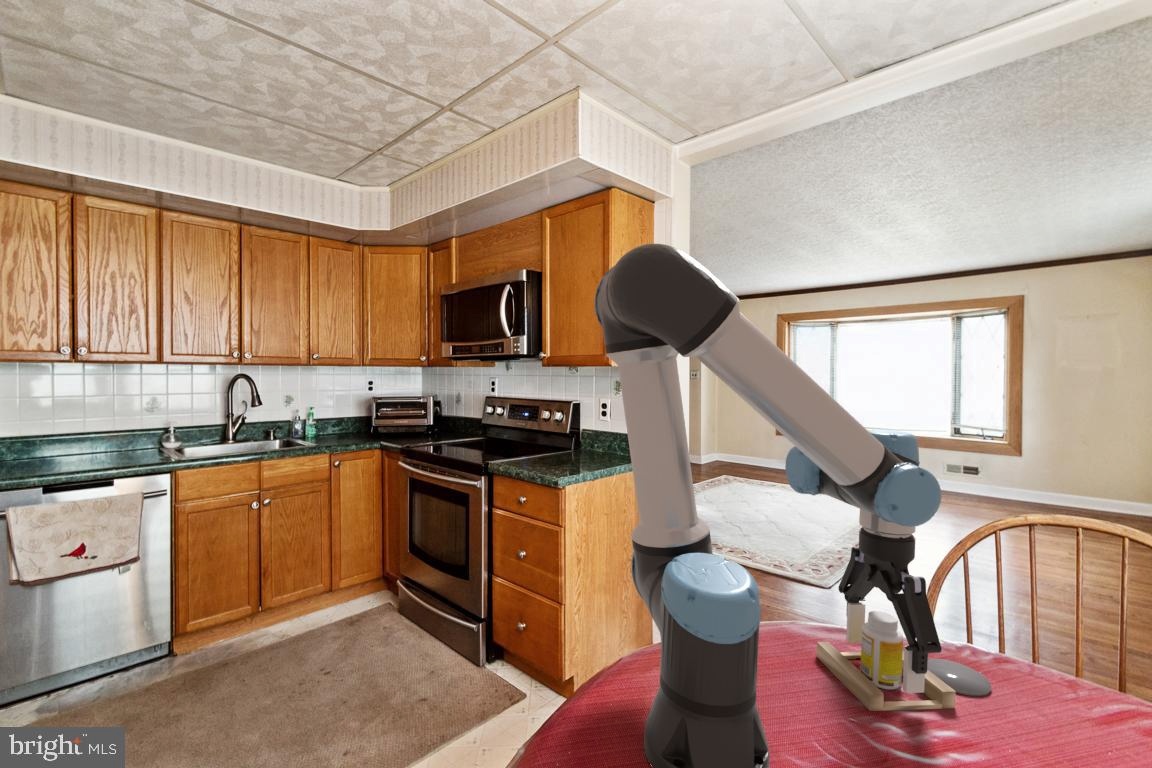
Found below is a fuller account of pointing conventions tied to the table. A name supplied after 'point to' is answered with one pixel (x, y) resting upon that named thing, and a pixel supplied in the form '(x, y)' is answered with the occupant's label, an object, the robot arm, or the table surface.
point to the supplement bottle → (882, 650)
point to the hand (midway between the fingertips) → (881, 664)
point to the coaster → (960, 677)
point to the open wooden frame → (872, 695)
